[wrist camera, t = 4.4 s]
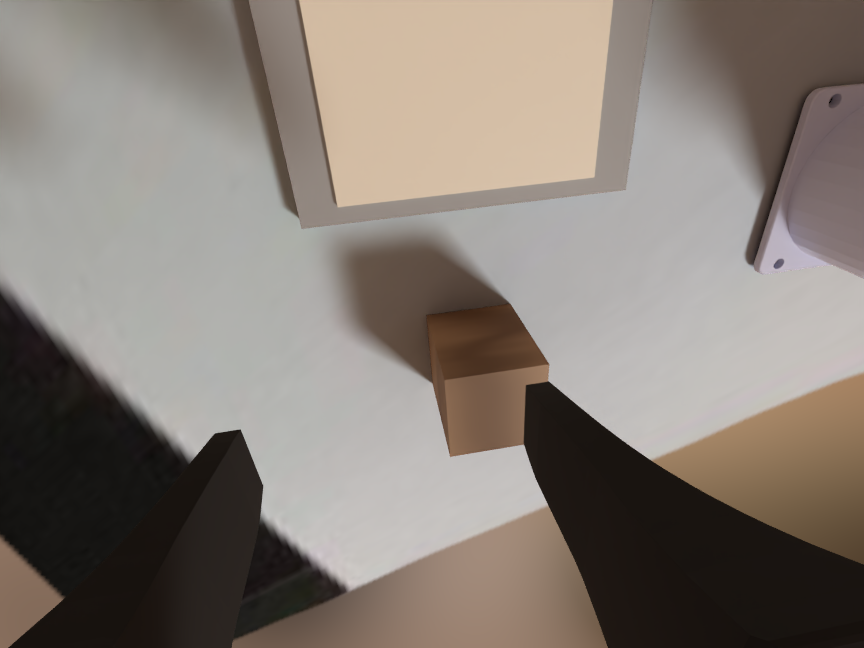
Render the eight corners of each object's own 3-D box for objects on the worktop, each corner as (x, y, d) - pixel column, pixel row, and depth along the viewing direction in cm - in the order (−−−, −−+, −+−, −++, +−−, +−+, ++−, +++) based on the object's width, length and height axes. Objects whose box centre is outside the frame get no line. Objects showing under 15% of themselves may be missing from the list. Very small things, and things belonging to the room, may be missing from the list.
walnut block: (510, 303, 21) (549, 364, 17) (508, 371, 23) (543, 441, 19) (426, 314, 21) (444, 379, 17) (432, 382, 23) (450, 456, 19)
